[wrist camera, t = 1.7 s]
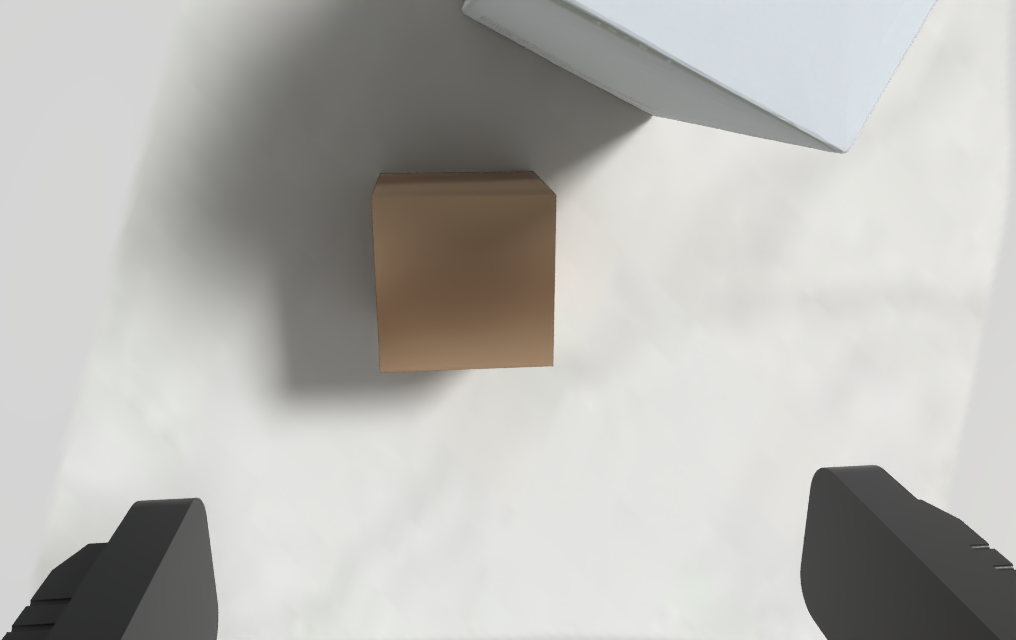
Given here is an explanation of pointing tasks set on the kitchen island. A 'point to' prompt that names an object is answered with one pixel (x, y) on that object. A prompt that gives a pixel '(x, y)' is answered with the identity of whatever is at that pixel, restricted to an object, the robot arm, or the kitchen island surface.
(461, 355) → the walnut cube
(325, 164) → the kitchen island surface
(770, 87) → the supplement box
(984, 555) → the robot arm
